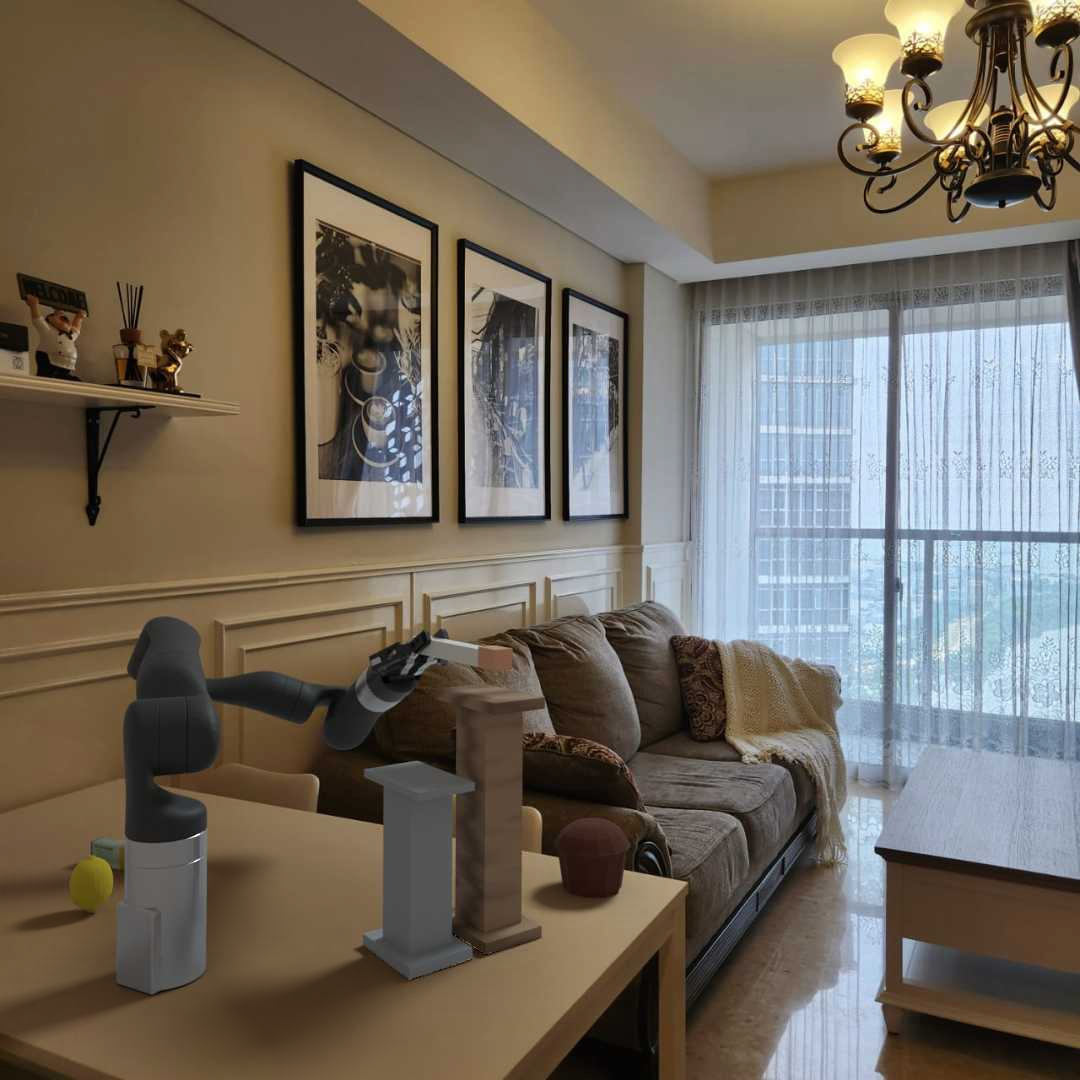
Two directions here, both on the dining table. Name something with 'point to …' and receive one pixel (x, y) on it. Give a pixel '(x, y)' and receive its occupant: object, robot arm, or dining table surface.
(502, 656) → the white square bar
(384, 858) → the grey pedestal column
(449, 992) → the dining table surface
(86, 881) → the lemon
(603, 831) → the muffin
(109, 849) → the medication box
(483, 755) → the tall tower
